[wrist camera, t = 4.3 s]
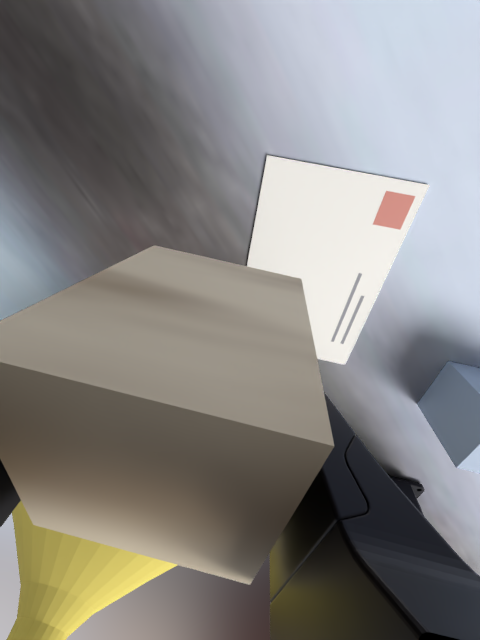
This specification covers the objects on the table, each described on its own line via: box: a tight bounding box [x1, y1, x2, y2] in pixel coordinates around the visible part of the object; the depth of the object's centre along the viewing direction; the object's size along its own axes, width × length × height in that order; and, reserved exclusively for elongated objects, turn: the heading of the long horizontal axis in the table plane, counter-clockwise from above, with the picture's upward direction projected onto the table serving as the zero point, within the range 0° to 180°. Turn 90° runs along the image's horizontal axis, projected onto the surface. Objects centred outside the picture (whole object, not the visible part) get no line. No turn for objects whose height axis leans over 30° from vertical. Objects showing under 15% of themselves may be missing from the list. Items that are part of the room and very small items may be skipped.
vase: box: [7, 501, 177, 640], centre depth 21 cm, size 18×18×19 cm
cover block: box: [0, 245, 334, 585], centre depth 7 cm, size 5×5×6 cm
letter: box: [247, 155, 429, 365], centre depth 19 cm, size 14×10×1 cm
